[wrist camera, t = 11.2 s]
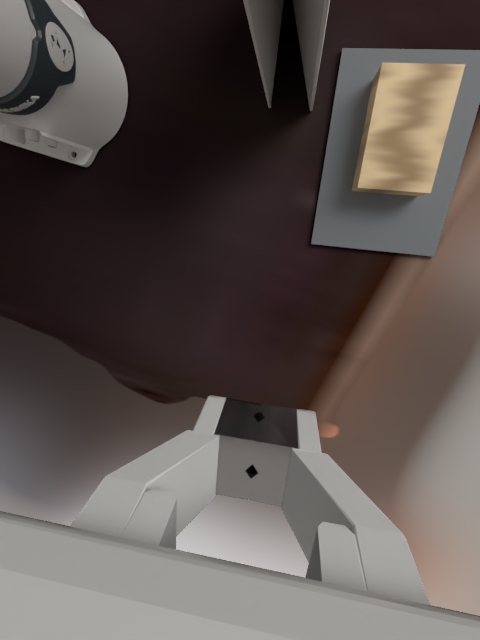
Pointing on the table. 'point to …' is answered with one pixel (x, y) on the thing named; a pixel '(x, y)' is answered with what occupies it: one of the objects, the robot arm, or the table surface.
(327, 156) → the rubber mat
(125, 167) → the table surface
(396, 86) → the wood block
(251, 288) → the table surface
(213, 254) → the table surface
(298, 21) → the brochure
